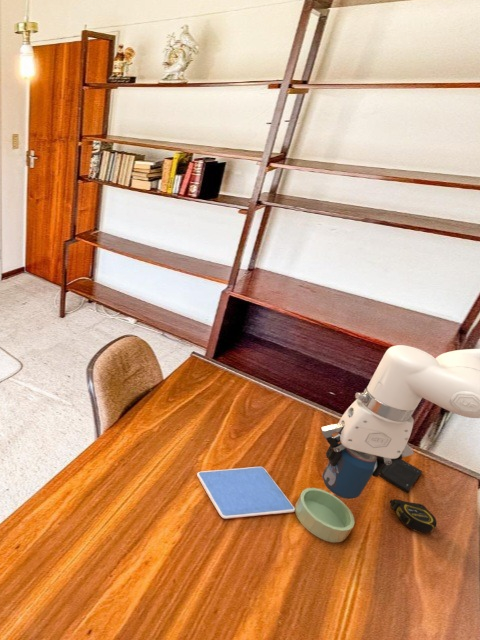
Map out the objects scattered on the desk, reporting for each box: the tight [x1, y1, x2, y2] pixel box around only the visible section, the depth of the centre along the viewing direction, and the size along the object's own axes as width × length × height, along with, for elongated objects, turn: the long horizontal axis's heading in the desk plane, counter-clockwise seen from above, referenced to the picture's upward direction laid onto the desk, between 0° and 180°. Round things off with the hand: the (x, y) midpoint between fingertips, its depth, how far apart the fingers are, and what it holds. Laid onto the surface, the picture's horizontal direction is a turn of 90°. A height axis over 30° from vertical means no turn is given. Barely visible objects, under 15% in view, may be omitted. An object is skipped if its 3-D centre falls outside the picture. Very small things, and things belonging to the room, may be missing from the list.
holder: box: [294, 487, 355, 544], centre depth 93 cm, size 10×10×4 cm
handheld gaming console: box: [378, 458, 423, 493], centre depth 106 cm, size 12×7×10 cm
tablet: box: [196, 466, 295, 520], centre depth 99 cm, size 19×13×1 cm, turn 97°
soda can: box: [322, 448, 377, 500], centre depth 86 cm, size 7×7×12 cm
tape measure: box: [389, 498, 438, 534], centre depth 94 cm, size 7×7×4 cm
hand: (351, 465), depth 86 cm, fingers closed on soda can, 7 cm apart
